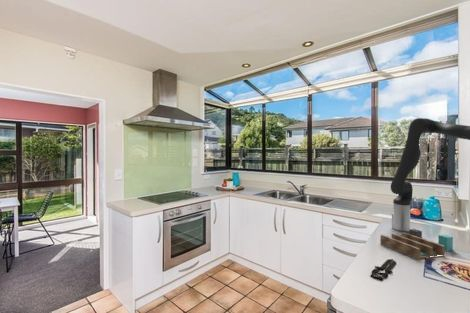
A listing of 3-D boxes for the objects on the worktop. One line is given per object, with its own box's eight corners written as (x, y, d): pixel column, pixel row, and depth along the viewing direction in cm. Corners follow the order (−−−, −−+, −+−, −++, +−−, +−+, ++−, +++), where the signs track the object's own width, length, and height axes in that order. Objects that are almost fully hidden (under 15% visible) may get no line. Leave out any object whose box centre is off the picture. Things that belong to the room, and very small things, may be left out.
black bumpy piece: (389, 259, 106) (389, 256, 106) (405, 265, 101) (405, 262, 101) (365, 275, 91) (365, 272, 91) (383, 283, 86) (383, 279, 86)
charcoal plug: (409, 241, 129) (409, 229, 129) (414, 240, 130) (414, 228, 130) (416, 244, 125) (416, 231, 125) (421, 243, 126) (421, 231, 126)
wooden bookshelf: (380, 243, 125) (380, 234, 125) (404, 241, 129) (404, 232, 129) (417, 259, 105) (417, 249, 105) (444, 255, 110) (444, 245, 110)
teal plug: (438, 248, 119) (438, 235, 120) (443, 247, 120) (443, 234, 121) (447, 251, 116) (447, 237, 116) (452, 250, 117) (452, 237, 117)
